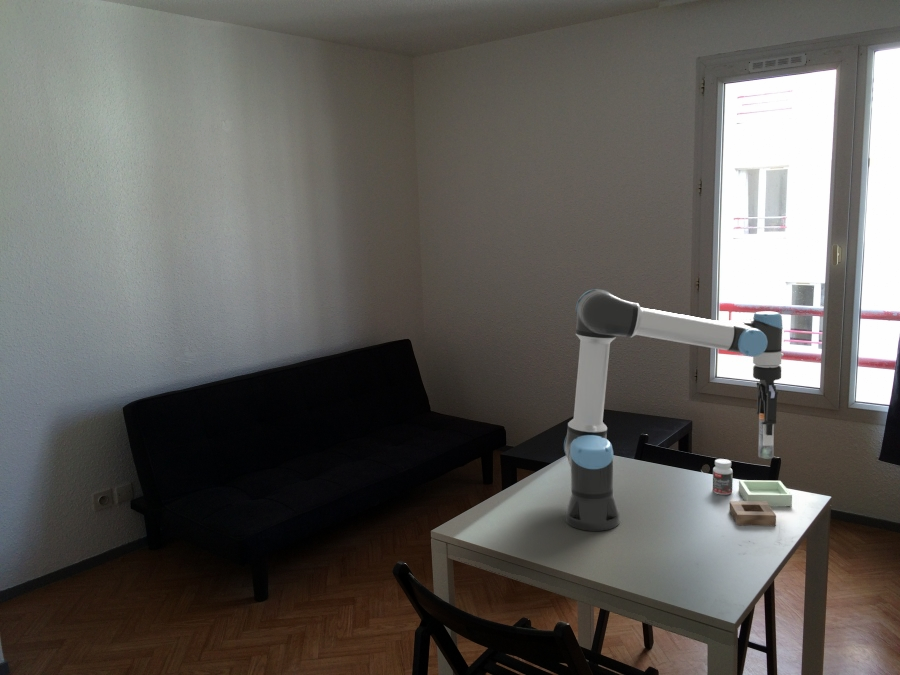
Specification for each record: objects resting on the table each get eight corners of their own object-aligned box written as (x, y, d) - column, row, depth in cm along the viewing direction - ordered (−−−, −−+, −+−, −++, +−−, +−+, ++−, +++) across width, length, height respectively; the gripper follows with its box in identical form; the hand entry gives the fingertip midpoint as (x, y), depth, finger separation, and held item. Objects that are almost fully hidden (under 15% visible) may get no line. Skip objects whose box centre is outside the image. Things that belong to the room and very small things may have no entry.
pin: (760, 458, 214) (761, 415, 212) (757, 454, 218) (757, 412, 216) (774, 458, 213) (775, 415, 211) (771, 454, 217) (771, 412, 215)
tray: (748, 505, 213) (748, 494, 212) (738, 491, 224) (738, 480, 224) (791, 506, 211) (792, 495, 210) (780, 491, 222) (780, 480, 222)
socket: (737, 525, 200) (737, 514, 200) (729, 510, 210) (729, 500, 209) (775, 525, 198) (776, 515, 198) (766, 511, 208) (766, 501, 208)
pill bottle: (712, 494, 223) (712, 463, 221) (712, 488, 228) (713, 457, 226) (732, 496, 221) (732, 464, 219) (732, 489, 226) (733, 459, 224)
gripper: (789, 370, 203) (787, 451, 206) (772, 359, 219) (771, 434, 223) (761, 371, 204) (759, 451, 207) (746, 359, 220) (745, 434, 224)
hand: (765, 442), depth 215 cm, fingers closed on pin, 4 cm apart
